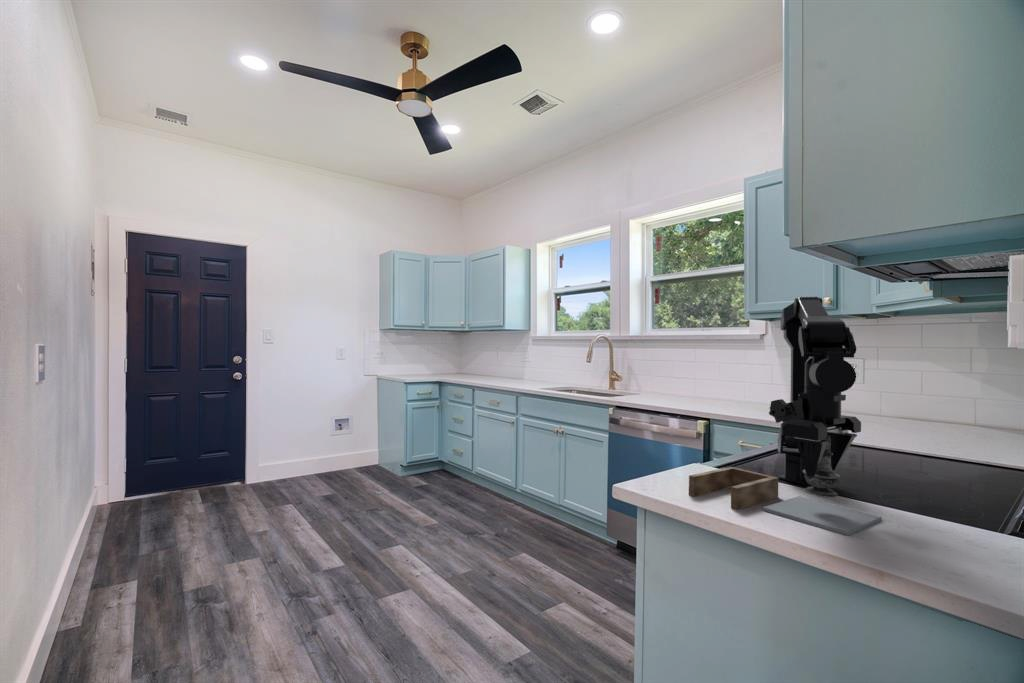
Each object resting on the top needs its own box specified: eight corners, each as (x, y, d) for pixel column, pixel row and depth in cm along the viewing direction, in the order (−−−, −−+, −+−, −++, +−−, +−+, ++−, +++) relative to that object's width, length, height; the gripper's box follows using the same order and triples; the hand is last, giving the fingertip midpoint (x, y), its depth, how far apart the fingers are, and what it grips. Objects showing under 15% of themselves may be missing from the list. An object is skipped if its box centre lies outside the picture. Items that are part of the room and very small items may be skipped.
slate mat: (799, 498, 98) (799, 495, 98) (881, 519, 86) (881, 516, 86) (762, 510, 90) (763, 507, 90) (848, 535, 78) (848, 531, 78)
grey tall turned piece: (823, 487, 91) (824, 424, 91) (848, 497, 86) (849, 430, 86) (794, 488, 91) (795, 424, 91) (818, 498, 85) (819, 430, 85)
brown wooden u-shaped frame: (730, 484, 107) (730, 466, 107) (778, 497, 98) (778, 477, 98) (688, 494, 98) (689, 475, 98) (736, 509, 90) (737, 488, 90)
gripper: (800, 383, 100) (799, 458, 100) (752, 386, 90) (751, 469, 90) (862, 388, 91) (861, 470, 91) (817, 391, 80) (816, 484, 80)
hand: (821, 472), depth 88 cm, fingers closed on grey tall turned piece, 8 cm apart
